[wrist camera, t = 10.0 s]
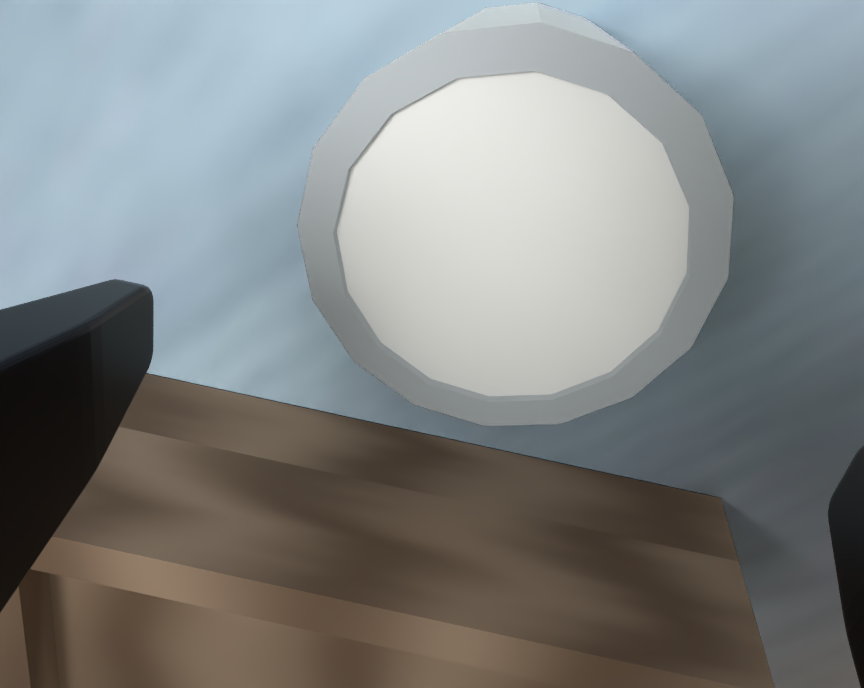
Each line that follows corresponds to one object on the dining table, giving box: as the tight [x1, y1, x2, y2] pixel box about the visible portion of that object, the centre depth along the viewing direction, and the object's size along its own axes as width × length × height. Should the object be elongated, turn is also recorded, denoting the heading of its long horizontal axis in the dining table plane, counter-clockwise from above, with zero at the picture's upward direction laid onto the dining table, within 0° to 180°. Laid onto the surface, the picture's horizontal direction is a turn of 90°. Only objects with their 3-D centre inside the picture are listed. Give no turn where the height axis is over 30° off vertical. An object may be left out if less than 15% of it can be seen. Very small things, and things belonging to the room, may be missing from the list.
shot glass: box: [297, 2, 734, 426], centre depth 16 cm, size 7×7×7 cm
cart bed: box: [0, 374, 775, 688], centre depth 24 cm, size 20×14×6 cm
